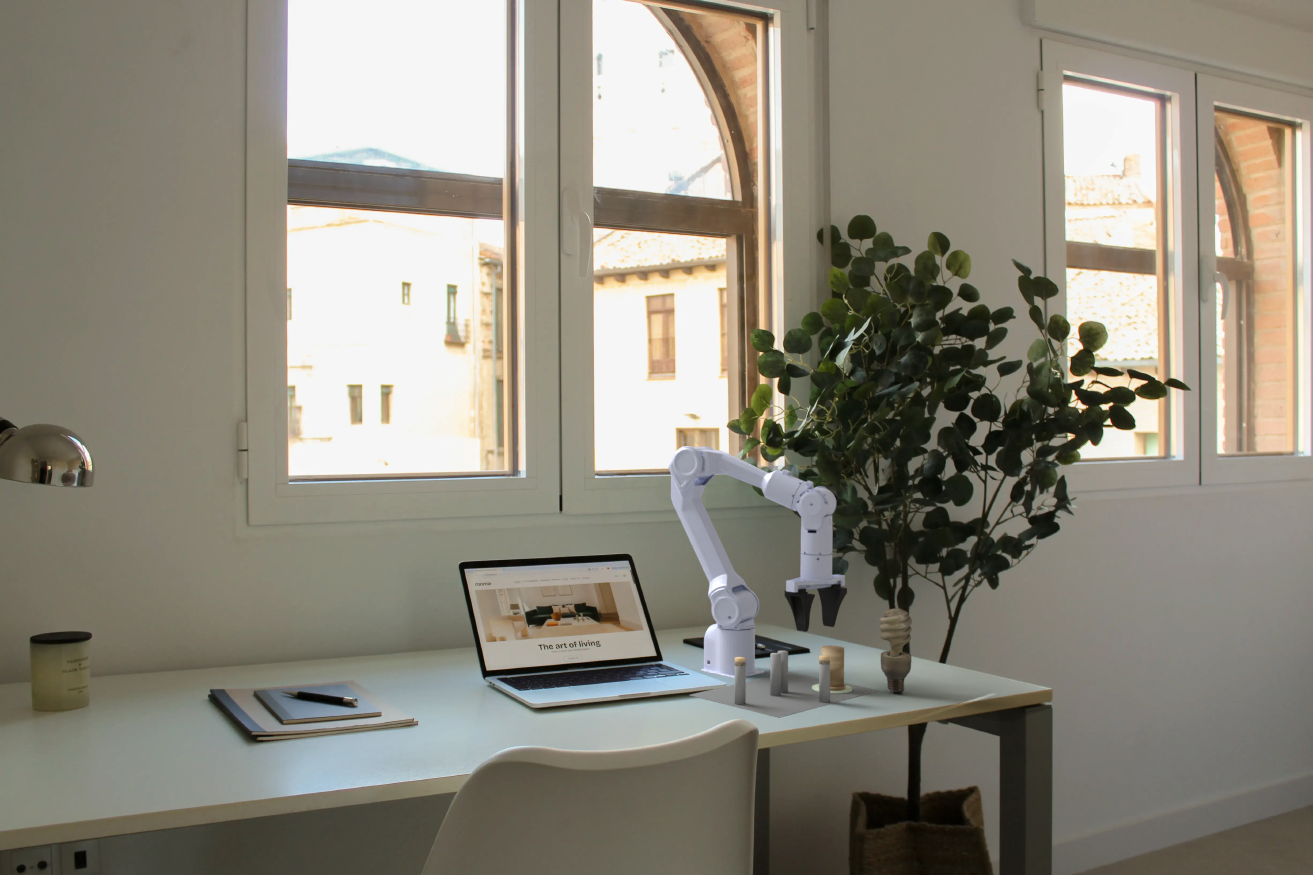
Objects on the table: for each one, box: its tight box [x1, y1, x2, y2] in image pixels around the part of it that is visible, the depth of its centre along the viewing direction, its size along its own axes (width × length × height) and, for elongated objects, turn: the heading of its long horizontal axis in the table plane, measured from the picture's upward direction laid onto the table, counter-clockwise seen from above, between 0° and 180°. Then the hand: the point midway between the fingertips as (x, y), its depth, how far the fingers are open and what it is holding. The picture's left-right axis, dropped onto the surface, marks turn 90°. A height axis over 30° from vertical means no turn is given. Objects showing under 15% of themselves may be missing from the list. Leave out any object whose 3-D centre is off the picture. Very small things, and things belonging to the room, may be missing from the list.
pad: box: [812, 684, 852, 694], centre depth 180 cm, size 7×7×1 cm
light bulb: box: [879, 607, 913, 695], centre depth 178 cm, size 6×6×15 cm
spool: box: [820, 645, 847, 691], centre depth 180 cm, size 5×5×7 cm
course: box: [689, 650, 880, 719], centre depth 178 cm, size 20×27×8 cm
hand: (815, 628), depth 188 cm, fingers open, 7 cm apart
